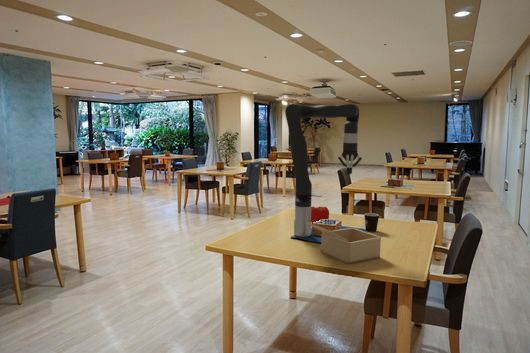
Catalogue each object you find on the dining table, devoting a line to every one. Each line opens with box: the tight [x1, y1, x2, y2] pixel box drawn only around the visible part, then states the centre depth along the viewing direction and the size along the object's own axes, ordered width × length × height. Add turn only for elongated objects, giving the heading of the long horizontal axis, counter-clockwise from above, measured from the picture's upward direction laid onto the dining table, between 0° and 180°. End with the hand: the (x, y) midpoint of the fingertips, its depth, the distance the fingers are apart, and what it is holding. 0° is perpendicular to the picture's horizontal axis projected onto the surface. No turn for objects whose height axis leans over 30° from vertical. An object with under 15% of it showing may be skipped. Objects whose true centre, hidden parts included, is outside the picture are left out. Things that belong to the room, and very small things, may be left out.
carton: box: [320, 227, 382, 265], centre depth 191 cm, size 20×21×10 cm
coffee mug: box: [363, 212, 380, 233], centre depth 239 cm, size 12×9×10 cm
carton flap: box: [306, 222, 349, 242], centre depth 183 cm, size 1×19×12 cm
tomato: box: [311, 206, 330, 224], centre depth 252 cm, size 13×14×12 cm
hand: (349, 174), depth 210 cm, fingers closed
